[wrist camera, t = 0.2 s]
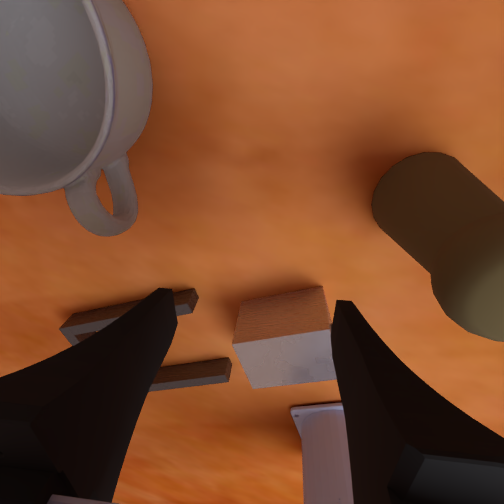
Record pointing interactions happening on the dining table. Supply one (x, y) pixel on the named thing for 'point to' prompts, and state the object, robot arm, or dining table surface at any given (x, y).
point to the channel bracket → (166, 377)
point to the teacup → (72, 104)
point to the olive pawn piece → (449, 235)
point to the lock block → (285, 339)
